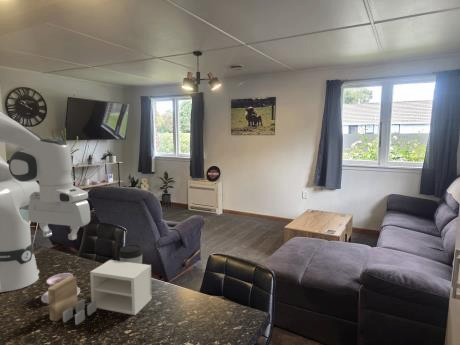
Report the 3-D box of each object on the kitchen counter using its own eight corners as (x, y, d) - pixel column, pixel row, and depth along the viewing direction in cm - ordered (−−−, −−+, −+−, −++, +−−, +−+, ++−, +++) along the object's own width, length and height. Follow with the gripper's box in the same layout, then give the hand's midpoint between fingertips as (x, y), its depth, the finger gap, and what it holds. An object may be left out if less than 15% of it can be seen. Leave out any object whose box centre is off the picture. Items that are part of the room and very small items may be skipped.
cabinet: (63, 321, 89) (60, 283, 88) (105, 290, 108) (104, 258, 106) (116, 333, 85) (115, 292, 83) (151, 298, 103) (150, 265, 101)
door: (47, 319, 91) (45, 288, 90) (69, 304, 99) (68, 275, 98) (56, 321, 90) (54, 289, 89) (77, 306, 98) (76, 277, 97)
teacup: (59, 285, 112) (58, 269, 111) (87, 288, 110) (87, 272, 109) (32, 302, 100) (31, 284, 100) (63, 306, 98) (62, 288, 97)
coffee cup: (136, 294, 106) (135, 253, 104) (115, 291, 107) (113, 251, 106) (147, 283, 114) (146, 245, 112) (127, 280, 115) (126, 243, 114)
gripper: (20, 193, 90) (23, 238, 91) (76, 196, 84) (79, 244, 86) (38, 189, 96) (42, 231, 97) (92, 193, 90) (94, 237, 92)
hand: (60, 237), depth 91 cm, fingers open, 8 cm apart
